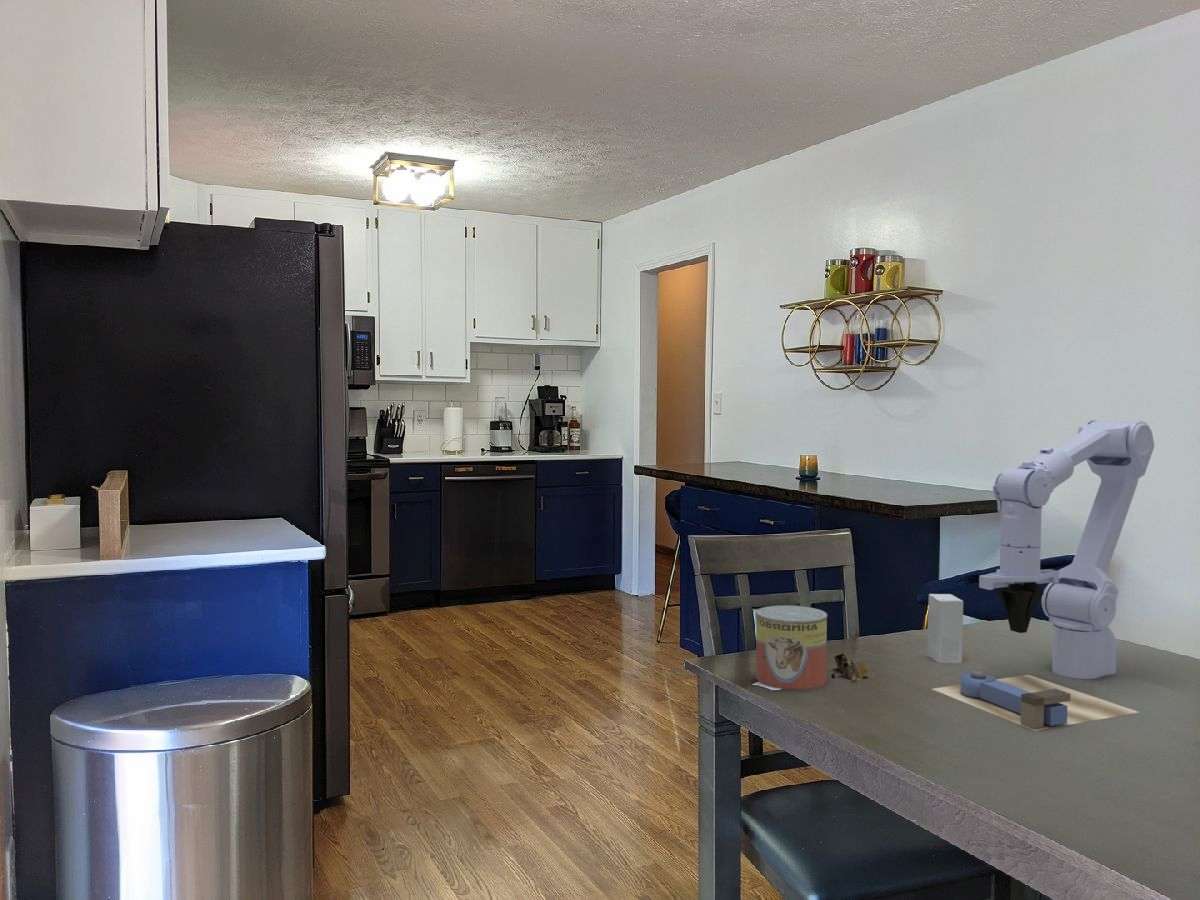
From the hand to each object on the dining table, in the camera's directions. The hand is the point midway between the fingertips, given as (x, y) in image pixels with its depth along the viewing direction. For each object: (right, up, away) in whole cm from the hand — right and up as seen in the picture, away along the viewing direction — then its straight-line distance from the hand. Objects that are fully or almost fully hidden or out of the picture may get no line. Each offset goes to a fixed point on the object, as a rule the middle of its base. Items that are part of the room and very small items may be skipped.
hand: (1018, 631), depth 146 cm
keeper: (-4, -11, -17) cm, 20 cm away
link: (-6, -9, -10) cm, 14 cm away
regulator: (-25, -10, +4) cm, 27 cm away
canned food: (-35, -10, +5) cm, 36 cm away
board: (-1, -10, -6) cm, 12 cm away
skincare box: (-6, -9, +17) cm, 20 cm away
